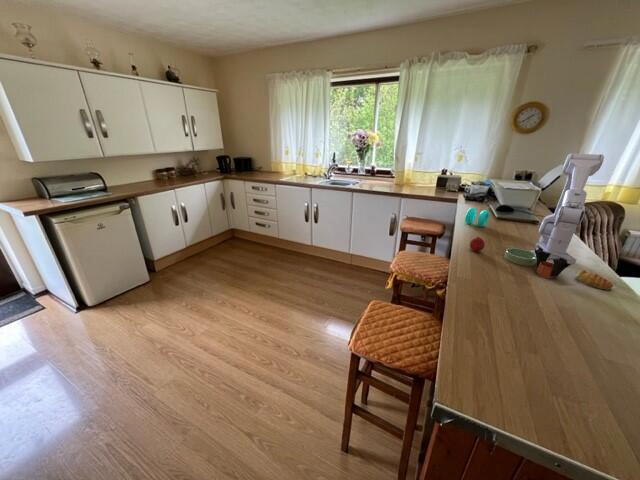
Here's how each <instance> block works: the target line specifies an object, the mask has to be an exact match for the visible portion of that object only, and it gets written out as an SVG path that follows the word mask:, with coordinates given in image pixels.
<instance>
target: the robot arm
mask: <svg viewBox="0 0 640 480" xmlns="http://www.w3.org/2000/svg"><path fill="white" fill-rule="evenodd" d="M604 159H605V155H604V154H602V153H601V154H594V153H593V154H592V153H590V154H589V153H573V152H570V153H568V154H567V156H566V159H565V161H564V164H563V167H562V169H561V174H562V175H565V176H566V181H565V184H564V187H563V189H562V192H561V193H560V197H559V200H558V201H557V205H556V208H555V210H554V213H552V214H549V215H546V216H544V218H543V219H542V222H541V223H540V225H539V229H538V234H539V235H540V238H539V240H538V241H537V242H536V244H535V246H534V247H535V249H532V250H531V249H530V250H529V251H530V252H532V253H534V254H536V259H537V262H536V264H535V267H536V269H537V268H538V266H539V263H540V262H543V261H546V262H547V260H548V259H553V261H552V262H553V264H554V265H553V270H552V272H551V276H552V277H555V278H556V277H559V275H560V274H561V273H562V272H563V271H564V270H566V269H567V268H568V267H570V266H572V265H575V264H576V262H577V258H576V257H574V256H572V255H571V254H569V253H568V252H567V250H568V248H569V245H570V243H571V241H572V239H573V237H574V234H575V232H576V229H577V227H578V226H580V225H581V224H582V222H583V219H584V217H585V213H586V212H585V211H586V206H585V204H586V199H587V195H588V192H587V191H586V190H585V186H586V184H587V182H588V179H589V177H592V176H594V175H595V174H596V173H597V172H598V171H600V169H601V168H602V165H603V163H604V161H605V160H604Z"/></svg>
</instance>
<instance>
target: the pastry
mask: <svg viewBox="0 0 640 480" xmlns="http://www.w3.org/2000/svg"><path fill="white" fill-rule="evenodd" d="M574 278H575V280H577V281H578V282H579V283H582V284H585V285H588V286H590V287H593V288H595V289H600V290H606V291H608V290H612V289H613V287H614V284H613V283H612V282H611V281H610V280H608V279H606V278H604V277H603V276H601V275H599V274H597V273H594V272H592V271H587V270H585V269H581V270H579V272H578V273H577V275H576V276H575V277H574Z"/></svg>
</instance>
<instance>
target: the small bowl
mask: <svg viewBox="0 0 640 480" xmlns="http://www.w3.org/2000/svg"><path fill="white" fill-rule="evenodd" d="M553 265H554V262H549V261H547V260H546V261H543V262H540V263H539V266H538V268H537V267H536V271H535V273H536V274H537V275H539V276H540V277H545V278H548V279H554V278H555V279H556V277H552V276H551V272H552V270H553Z"/></svg>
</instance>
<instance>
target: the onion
mask: <svg viewBox="0 0 640 480" xmlns="http://www.w3.org/2000/svg"><path fill="white" fill-rule="evenodd" d="M481 237H482V236H481V235H477V237H474V238H472V239H471V240H470V242H469V248H470V249H471V250H472V251H473V252H475V253H476V252H477V253H478V252H480V251H482V250H484V248H485V246H486V245H485V241H484V239H483V238H481Z"/></svg>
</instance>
